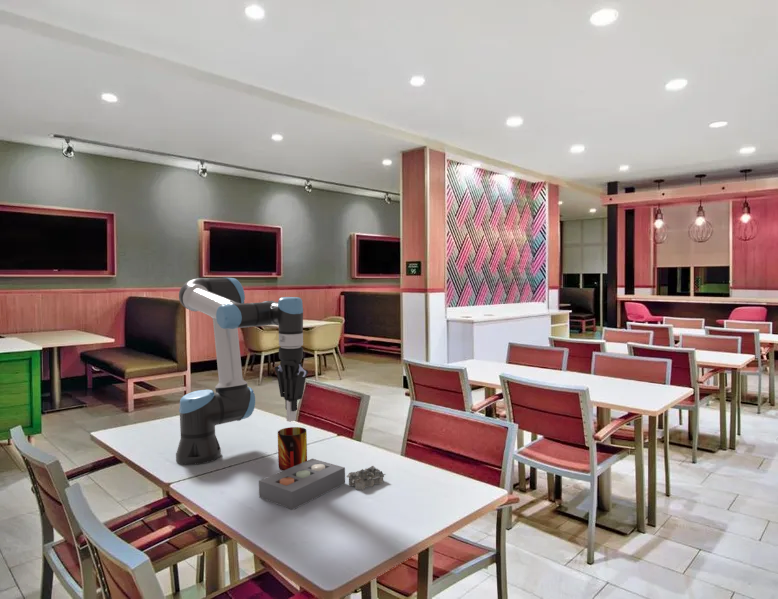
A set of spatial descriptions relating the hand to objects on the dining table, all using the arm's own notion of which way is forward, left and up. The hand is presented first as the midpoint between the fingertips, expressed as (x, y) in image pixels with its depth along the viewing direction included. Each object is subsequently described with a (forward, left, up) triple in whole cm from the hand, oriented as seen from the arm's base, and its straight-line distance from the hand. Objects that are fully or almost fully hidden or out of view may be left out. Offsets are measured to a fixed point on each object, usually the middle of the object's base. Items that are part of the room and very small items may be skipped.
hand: (291, 420), depth 166 cm
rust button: (+9, -11, -17) cm, 22 cm away
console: (+9, -4, -19) cm, 21 cm away
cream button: (+9, +2, -17) cm, 19 cm away
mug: (-7, +7, -19) cm, 22 cm away
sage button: (+9, -4, -17) cm, 20 cm away
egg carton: (+21, +11, -19) cm, 31 cm away
